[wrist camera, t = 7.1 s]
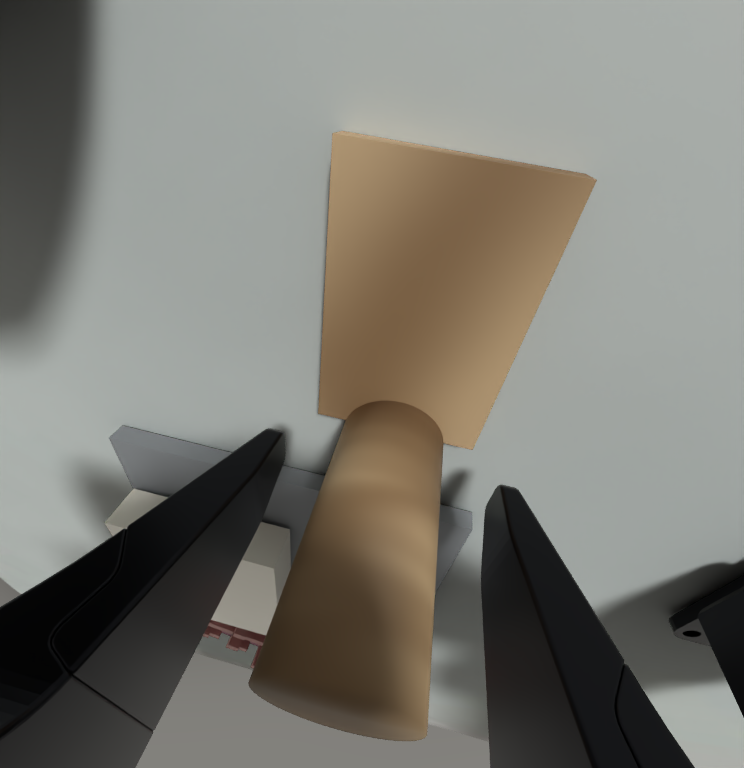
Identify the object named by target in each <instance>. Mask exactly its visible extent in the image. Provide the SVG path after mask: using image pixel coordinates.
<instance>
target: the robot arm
mask: <svg viewBox="0 0 744 768" xmlns="http://www.w3.org/2000/svg"><path fill="white" fill-rule="evenodd" d="M285 454H286V452H285V434H284V432H282V431H279V430H275V429H266V430H264V431H263V432H261V433H260V434H258V435H257V436H256V437H254V438H253V439H251V440H250V441H248V442H247V443H246V444H244V445H243V446H241V447H240V448H238V449H237V450H236V451H234V452H233V453H231V454H230V455H228V456H227V457H225V458H224V459H223V460H221V461H220V462H218V463H217V464H215V465H214V466H213V467H211V468H210V469H208V470H207V471H205V472H204V473H203V474H201V475H200V476H198V477H197V478H195V479H194V480H193V481H191V482H190V483H188V484H187V485H185V486H184V487H183V488H181V489H180V490H178V491H177V492H175V493H174V494H172V495H171V496H170V497H168V498H167V499H165V500H164V501H162V502H161V503H160V504H158V505H157V506H155V507H154V508H152V509H151V510H150V511H148V512H147V513H145V514H144V515H142V516H141V517H140V518H138V519H137V520H135V521H134V522H132V523H131V524H130V525H128V527H127V529H125V528H124V529H122V530H121V531H119V532H118V533H116V534H115V535H114V536H112V537H111V538H109V539H108V540H106V541H105V542H103V543H102V544H100V545H99V546H97V547H96V548H94V549H93V550H92V551H90V552H89V553H87V554H86V555H84V556H83V557H81V558H80V559H78V560H77V561H75V562H74V563H72V564H70V565H69V566H67V567H65V568H64V569H62V570H61V571H59V572H57V573H56V574H54V575H53V576H51V577H49V578H48V579H46V580H44V581H43V582H41V583H40V584H38V585H36V586H35V587H33V588H31V589H30V590H28V591H26V592H24V593H23V594H21V595H20V596H18V597H16V598H14V599H13V600H11V601H9V602H8V603H6V604H4V605H3V606H1V607H0V768H135V767H136V765H137V763H138V761H139V759H140V758H141V756H142V754H143V752H144V750H145V748H146V746H147V744H148V742H149V740H150V738H151V736H152V734H153V730H154V729H155V728H156V726H157V724H158V722H159V720H160V718H161V716H162V714H163V712H164V710H165V708H166V707H167V705H168V703H169V701H170V699H171V697H172V695H173V693H174V691H175V689H176V687H177V685H178V683H179V681H180V679H181V677H182V675H183V673H184V671H185V669H186V668H187V666H188V664H189V662H190V660H191V658H192V656H193V654H194V652H195V650H196V648H197V646H198V644H199V642H200V640H201V638H202V636H203V634H204V632H205V630H206V629H207V627H208V625H209V623H210V621H211V619H212V617H213V615H214V613H215V611H216V609H217V607H218V605H219V603H220V601H221V599H222V597H223V595H224V593H225V591H226V590H227V588H228V586H229V584H230V582H231V580H232V578H233V576H234V574H235V572H236V570H237V568H238V566H239V564H240V562H241V560H242V558H243V556H244V554H245V552H246V551H247V549H248V547H249V545H250V543H251V541H252V539H253V537H254V535H255V533H256V531H257V529H258V527H259V525H260V523H261V521H262V518H263V516H264V513H265V511H266V508H267V506H268V503H269V500H270V498H271V495H272V492H273V490H274V487H275V484H276V482H277V479H278V477H279V474H280V471H281V469H282V466H283V463H284V460H285ZM481 591H482V611H483V631H484V650H485V670H486V690H487V709H488V729H489V747H490V768H695V767H694V766H693V765H692V763H691V762H690V760H689V759H688V757H687V756H686V754H685V753H684V751H683V750H682V749H681V747H680V746H679V744H678V743H677V741H676V740H675V738H674V737H673V735H672V734H671V733H670V731H669V730H668V728H667V727H666V725H665V723H664V722H663V720H662V719H661V717H660V716H659V714H658V713H657V711H656V710H655V708H654V706H653V705H652V703H651V702H650V700H649V699H648V697H647V696H646V694H645V692H644V691H643V689H642V688H641V686H640V684H639V683H638V681H637V680H636V678H635V676H634V675H633V673H632V672H631V670H630V668H629V667H628V665H626V664H624V659H623V657H622V656H621V654H620V653H619V651H618V649H617V648H616V646H615V645H614V643H613V641H612V640H611V638H610V636H609V635H608V633H607V632H606V630H605V628H604V627H603V625H602V624H601V622H600V620H599V619H598V617H597V615H596V614H595V612H594V611H593V609H592V607H591V606H590V604H589V603H588V601H587V599H586V598H585V596H584V595H583V593H582V591H581V590H580V588H579V586H578V585H577V583H576V582H575V580H574V578H573V577H572V575H571V574H570V572H569V570H568V569H567V567H566V566H565V564H564V562H563V561H562V559H561V557H560V556H559V554H558V553H557V551H556V549H555V548H554V546H553V545H552V543H551V541H550V540H549V538H548V537H547V535H546V533H545V532H544V530H543V528H542V527H541V525H540V524H539V522H538V520H537V519H536V517H535V516H534V514H533V512H532V511H531V509H530V508H529V506H528V504H527V503H526V501H525V499H524V498H523V496H522V495H521V493H520V492H519V490H518V489H516V488H514V487H510V486H506V485H499V486H497V488H496V489H495V491H494V493H493V495H492V496H491V498H490V500H489V501H488V503H487V506H486V509H485V519H484V535H483V551H482V567H481ZM669 623H670V625H671V628H672V630H673V633H674V635H675V636H677V637H679V638H681V639H685V640H689V641H693V642H696V643H700V644H704V645H708V646H711V647H712V649H713V652H714V654H715V656H716V658H717V660H718V662H719V665H720V667H721V669H722V671H723V673H724V675H725V678H726V680H727V682H728V684H729V686H730V689H731V691H732V693H733V695H734V697H735V699H736V702H737V704H738V706H739V708H740V710H741V712H742V715H743V717H744V575H743V576H741V577H740V578H738V579H736V580H734V581H733V582H731V583H729V584H727V585H726V586H724V587H722V588H721V589H719V590H717V591H715V592H714V593H712V594H710V595H708V596H707V597H705V598H703V599H701V600H700V601H698V602H696V603H694V604H693V605H691V606H689V607H687V608H686V609H684V610H682V611H680V612H679V613H677V614H675V615H673V616H672V617H670V618H669Z"/></svg>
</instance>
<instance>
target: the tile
mask: <svg viewBox="0 0 744 768" xmlns="http://www.w3.org/2000/svg"><path fill="white" fill-rule="evenodd" d="M167 498H168V497H164V496H161V495H157V494H153V493H149V492H145V491H141V490H138V489H133V490H132V491H131V492H130V493H129V495H128V496H127V497H126V498H125V499H124V500H123V502H122V503H121V504H120V505H119V506H118V507H117V509H116V510H115V511H114V512H113V513H112V514H111V516H110V517H109V518H108V519H107V520H106V521H105V522H104V523H105V524H106V526H107V528H108V529H109V531H110V532H111V534H112V536H114V535H115V534H116V533H118V532H119V531H121V530H122V529H124V528H125V529H127V527H128V525H130V524H131V523H132V522H134V521H135V520H137V519H138V518H140V517H141V516H142V515H144V514H145V513H147V512H148V511H150V510H151V509H152V508H154V507H155V506H157V505H158V504H160V503H161V502H162V501H164V500H165V499H167ZM290 569H291V552H290V529H287V528H283V527H279V526H275V525H271V524H268V523H264V522H261V523H260V525H259V527H258V529H257V531H256V533H255V535H254V537H253V539H252V541H251V543H250V545H249V547H248V549H247V551H246V552H245V554H244V556H243V558H242V560H241V562H240V564H239V566H238V568H237V570H236V572H235V574H234V576H233V578H232V580H231V582H230V584H229V586H228V588H227V590H226V591H225V593H224V595H223V597H222V599H221V601H220V603H219V605H218V607H217V609H216V611H215V613H214V615H213V617H212V619H211V620H214V621H217V622H221V623H224V624H228V625H231V626H235V627H238V628H242V629H245V630H249V631H252V632H256V633H259V634H263V635H266V634H267V631H268V629H269V626H270V623H271V621H272V618H273V615H274V613H275V610H276V607H277V604H278V602H279V599H280V596H281V594H282V591H283V588H284V586H285V583H286V580H287V577H288V575H289V572H290Z"/></svg>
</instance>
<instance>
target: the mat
mask: <svg viewBox="0 0 744 768" xmlns="http://www.w3.org/2000/svg"><path fill="white" fill-rule="evenodd" d="M109 439H110V441H111V443H112V446H113V448H114V450H115V452H116V454H117V456H118V458H119V460H120V462H121V464H122V466H123V468H124V471H125V473H126V475H127V477H128V479H129V481H130V483H131V485H132V487H133V489H138V490H141V491H145V492H149V493H153V494H157V495H161V496H164V497H170V496H171V495H172V494H174V493H175V492H177V491H178V490H180V489H181V488H183V487H184V486H185V485H187V484H188V483H190V482H191V481H193V480H194V479H195V478H197V477H198V476H200V475H201V474H203V473H204V472H205V471H207V470H208V469H210V468H211V467H213V466H214V465H215V464H217V463H218V462H220V461H221V460H223V459H224V458H225V457H227V456H228V455H230V454H231V452H227V451H223V450H219V449H215V448H211V447H207V446H203V445H199V444H195V443H191V442H187V441H183V440H179V439H175V438H171V437H167V436H163V435H159V434H155V433H151V432H147V431H143V430H139V429H135V428H131V427H127V426H123V425H122V426H121V427H120V428H119V429H118V430H117V431H116V432H115V433H114V434H113V435H112V436H110V437H109ZM324 478H325V476H324V475H320V474H316V473H312V472H308V471H304V470H300V469H296V468H292V467H288V466H284V465H283V466H282V469H281V471H280V474H279V477H278V479H277V482H276V484H275V487H274V490H273V492H272V495H271V498H270V500H269V503H268V506H267V508H266V511H265V513H264V516H263V518H262V521H261V522H264V523H268V524H271V525H275V526H279V527H283V528H287V529H290V552H291V567H292V564H293V561H294V559H295V556H296V553H297V550H298V548H299V545H300V542H301V540H302V537H303V534H304V532H305V529H306V526H307V523H308V521H309V518H310V515H311V513H312V510H313V507H314V505H315V502H316V499H317V497H318V494H319V491H320V488H321V486H322V483H323V480H324ZM471 531H472V512H469V511H465V510H461V509H457V508H453V507H449V506H444V505H440V512H439V530H438V548H437V566H436V584H435V593H436V591H437V589H438V588H439V586H440V584H441V583H442V581H443V579H444V577H445V576H446V574H447V572H448V571H449V569H450V567H451V565H452V564H453V562H454V560H455V559H456V557H457V555H458V553H459V552H460V550H461V548H462V546H463V545H464V543H465V541H466V540H467V538H468V536H469V534H470V533H471Z"/></svg>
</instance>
